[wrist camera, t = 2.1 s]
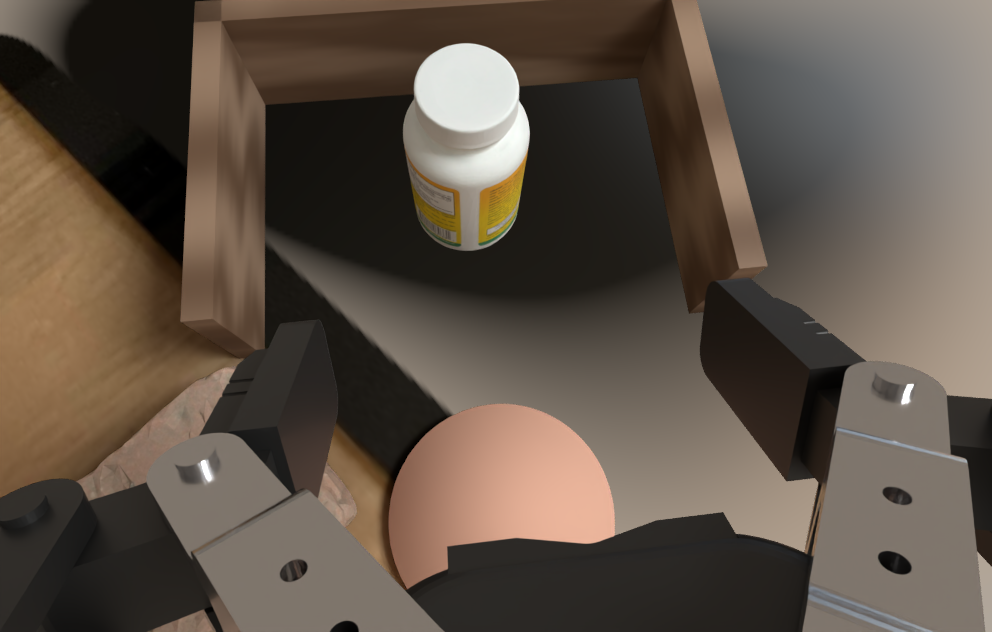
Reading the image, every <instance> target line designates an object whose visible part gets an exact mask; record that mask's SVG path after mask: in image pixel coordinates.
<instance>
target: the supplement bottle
mask: <svg viewBox="0 0 992 632" xmlns="http://www.w3.org/2000/svg"><path fill="white" fill-rule="evenodd" d="M529 135H530V132H529V123H528V119H527V116H526V113H525V111H524V109H523V107H522V105H521V103H520V102H519V83H518V79H517V75H516V73H515V71H514V69H513V68H512V66H511V65H510V63H509V62H508V61H507V60H506V59H505V58H504V57H503V56H502V55H500V54H499V53H497V52H496V51H494V50H492V49H490V48H488V47H485V46H481V45H477V44H470V43H462V44H454V45H450V46H446V47H444V48H442V49H439V50H438V51H436V52H434V53H433V54H431V55H430V56H429V57H428V58H427V59H425V61H424V62H423V63H422V64H421V66H420V67H419V69H418V71H417V74H416V77H415V80H414V100H413V102H412V104H411V105H410V107H409V109H408V111H407V113H406V116H405V120H404V126H403V140H404V146H405V152H406V157H407V163H408V169H409V175H410V180H411V186H412V191H413V197H414V202H415V207H416V212H417V216H418V219H419V221H420V223H421V225H422V227H423V228H424V230H425V231H426V232H427V234H428V235H429V236H430V237H432V238H433V239H434V240H435V241H436V242H438V243H440V244H441V245H443V246H445V247H448V248H451V249H455V250H461V251H473V250H478V249H482V248H486V247H488V246H490V245H492V244H493V243H495V242H496V241H498V240H499V239H500V238H502V237H503V236H504V235H505V234H506V233H507V232H508V230H509V229H510V228H511V226H512V225H513V223H514V221H515V218H516V215H517V211H518V206H519V199H520V193H521V187H522V181H523V175H524V168H525V162H526V158H527V152H528V145H529Z"/></svg>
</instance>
